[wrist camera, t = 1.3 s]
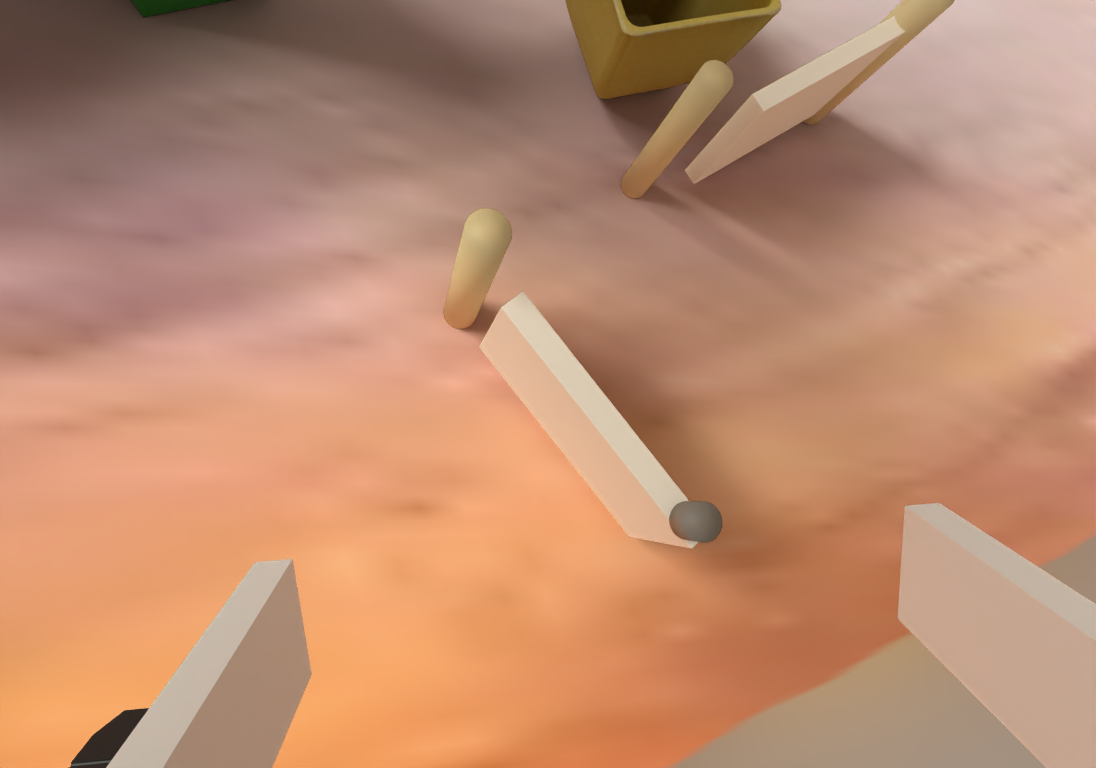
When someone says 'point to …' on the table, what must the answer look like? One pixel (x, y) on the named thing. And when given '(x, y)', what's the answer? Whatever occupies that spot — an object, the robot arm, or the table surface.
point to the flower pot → (661, 39)
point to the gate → (592, 431)
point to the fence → (750, 127)
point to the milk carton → (168, 5)
